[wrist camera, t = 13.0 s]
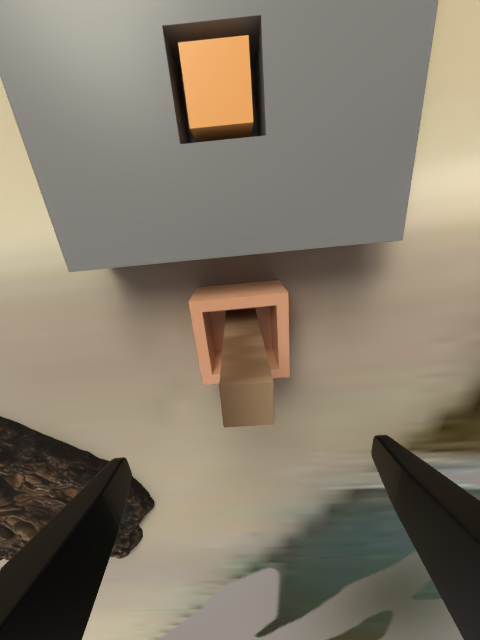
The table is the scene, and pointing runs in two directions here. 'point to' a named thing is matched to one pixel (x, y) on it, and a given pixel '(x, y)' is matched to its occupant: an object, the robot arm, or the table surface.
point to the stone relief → (52, 488)
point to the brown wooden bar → (245, 372)
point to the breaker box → (221, 155)
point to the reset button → (218, 87)
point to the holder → (217, 299)
